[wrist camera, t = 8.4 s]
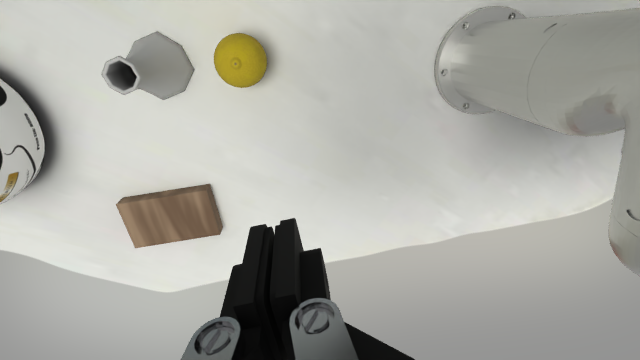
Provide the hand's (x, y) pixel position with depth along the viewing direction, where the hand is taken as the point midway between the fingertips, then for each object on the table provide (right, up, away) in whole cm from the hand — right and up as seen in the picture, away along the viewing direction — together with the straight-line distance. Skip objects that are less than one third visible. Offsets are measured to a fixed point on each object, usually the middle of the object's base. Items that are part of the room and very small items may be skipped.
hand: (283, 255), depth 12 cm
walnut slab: (-13, -1, +34) cm, 36 cm away
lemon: (-7, +17, +27) cm, 33 cm away
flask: (-17, +16, +27) cm, 36 cm away
